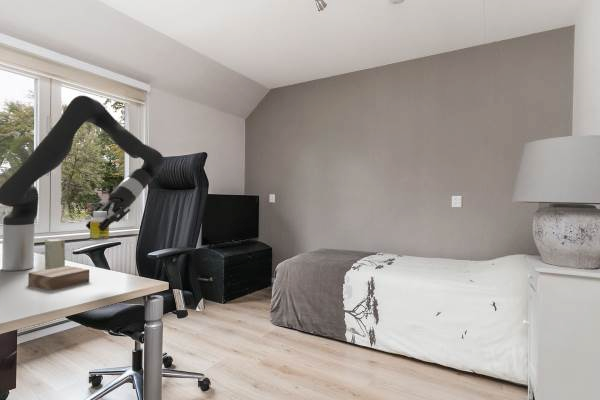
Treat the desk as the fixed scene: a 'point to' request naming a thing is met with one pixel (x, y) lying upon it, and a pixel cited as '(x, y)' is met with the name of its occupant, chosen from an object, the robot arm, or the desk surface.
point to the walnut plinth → (58, 277)
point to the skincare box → (54, 253)
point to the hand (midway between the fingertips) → (94, 228)
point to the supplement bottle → (95, 232)
